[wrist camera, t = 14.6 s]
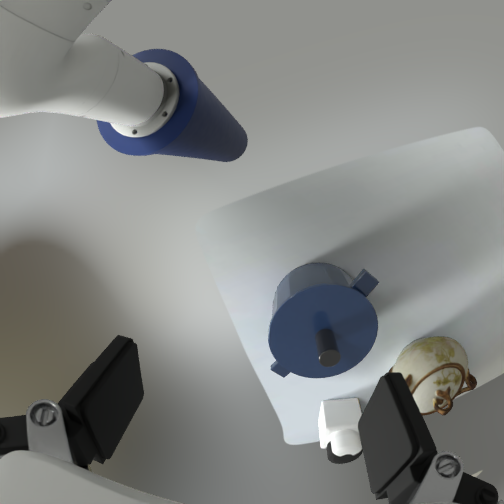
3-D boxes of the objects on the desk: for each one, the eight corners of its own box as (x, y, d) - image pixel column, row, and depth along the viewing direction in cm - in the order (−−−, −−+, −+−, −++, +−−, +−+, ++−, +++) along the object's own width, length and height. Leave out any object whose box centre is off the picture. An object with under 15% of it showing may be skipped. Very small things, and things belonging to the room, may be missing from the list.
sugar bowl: (357, 388, 45) (374, 451, 31) (381, 319, 41) (415, 379, 27) (440, 382, 44) (468, 431, 30) (468, 320, 40) (511, 365, 25)
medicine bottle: (351, 419, 48) (361, 464, 36) (317, 422, 48) (322, 469, 37) (358, 396, 46) (371, 444, 34) (321, 399, 47) (328, 449, 35)
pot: (245, 321, 43) (238, 354, 35) (323, 229, 38) (335, 246, 30) (307, 361, 44) (311, 396, 36) (384, 281, 39) (406, 307, 31)
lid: (246, 339, 35) (241, 367, 29) (318, 257, 31) (327, 276, 26) (324, 386, 36) (328, 415, 31) (395, 319, 32) (411, 344, 27)
